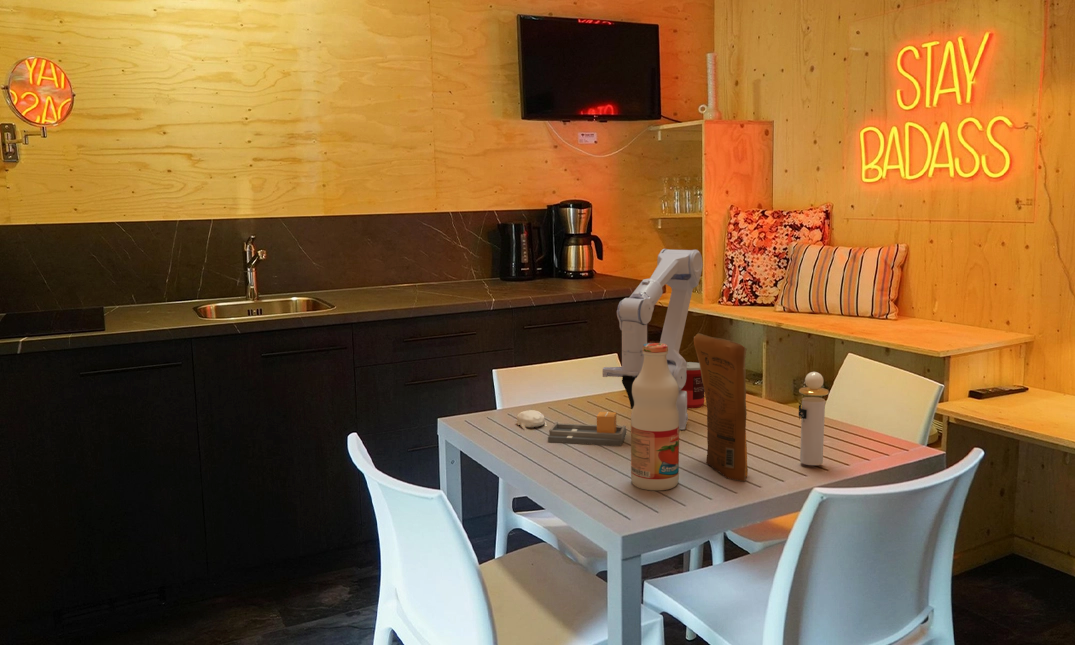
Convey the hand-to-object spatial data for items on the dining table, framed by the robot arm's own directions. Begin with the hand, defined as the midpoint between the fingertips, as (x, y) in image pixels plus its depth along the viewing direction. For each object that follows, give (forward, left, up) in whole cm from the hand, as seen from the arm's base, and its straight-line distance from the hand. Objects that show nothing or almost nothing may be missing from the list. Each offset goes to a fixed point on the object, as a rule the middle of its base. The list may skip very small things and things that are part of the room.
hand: (634, 408), depth 195 cm
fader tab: (+6, 0, -6) cm, 9 cm away
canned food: (-11, -35, -8) cm, 37 cm away
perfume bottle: (-39, +11, -8) cm, 41 cm away
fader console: (+10, 0, -8) cm, 13 cm away
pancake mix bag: (-21, +17, -8) cm, 28 cm away
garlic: (+27, -8, -8) cm, 29 cm away
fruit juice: (-8, +28, -8) cm, 30 cm away
